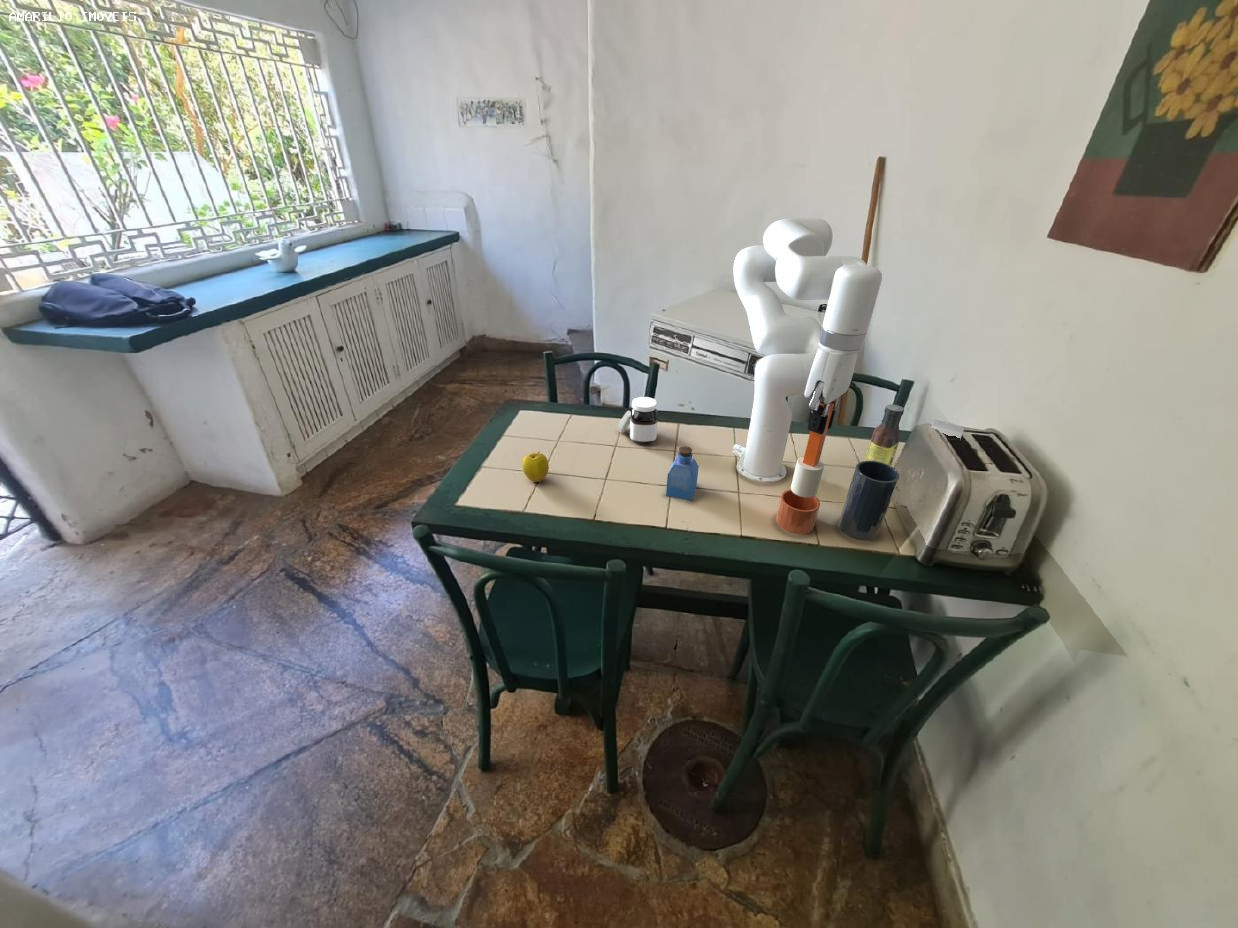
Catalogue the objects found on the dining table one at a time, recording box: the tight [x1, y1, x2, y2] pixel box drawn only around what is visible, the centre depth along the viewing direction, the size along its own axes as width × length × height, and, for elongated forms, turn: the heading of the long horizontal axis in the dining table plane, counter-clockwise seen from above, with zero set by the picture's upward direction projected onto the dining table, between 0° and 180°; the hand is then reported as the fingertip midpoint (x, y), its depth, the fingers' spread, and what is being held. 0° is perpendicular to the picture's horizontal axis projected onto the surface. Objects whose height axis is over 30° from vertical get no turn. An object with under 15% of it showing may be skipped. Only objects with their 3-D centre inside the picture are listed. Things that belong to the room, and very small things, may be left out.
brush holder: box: [775, 488, 821, 535], centre depth 113 cm, size 8×8×7 cm
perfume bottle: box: [665, 445, 700, 502], centre depth 122 cm, size 6×6×12 cm
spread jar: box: [616, 396, 659, 446], centre depth 145 cm, size 12×11×12 cm
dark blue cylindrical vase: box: [837, 460, 900, 542], centre depth 109 cm, size 8×8×16 cm
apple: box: [521, 450, 550, 483], centre depth 127 cm, size 6×6×8 cm
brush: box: [790, 403, 834, 498], centre depth 104 cm, size 5×5×20 cm
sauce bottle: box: [863, 403, 905, 467], centre depth 126 cm, size 6×6×20 cm
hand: (819, 428), depth 101 cm, fingers closed on brush, 2 cm apart
